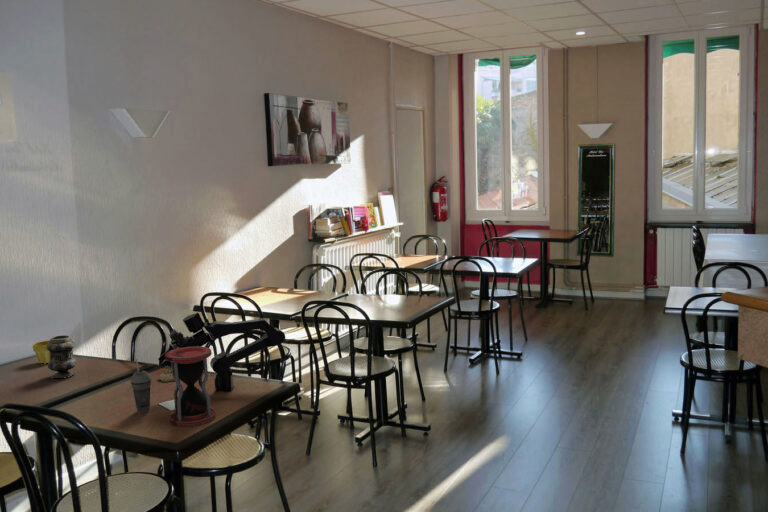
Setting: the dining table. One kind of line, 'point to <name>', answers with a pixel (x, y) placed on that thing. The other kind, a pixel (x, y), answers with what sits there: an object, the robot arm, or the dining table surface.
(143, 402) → the beverage cup
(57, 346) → the apothecary jar
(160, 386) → the dining table surface
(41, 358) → the plant pot
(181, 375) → the hourglass
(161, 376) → the bread roll
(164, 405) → the mat
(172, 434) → the dining table surface
